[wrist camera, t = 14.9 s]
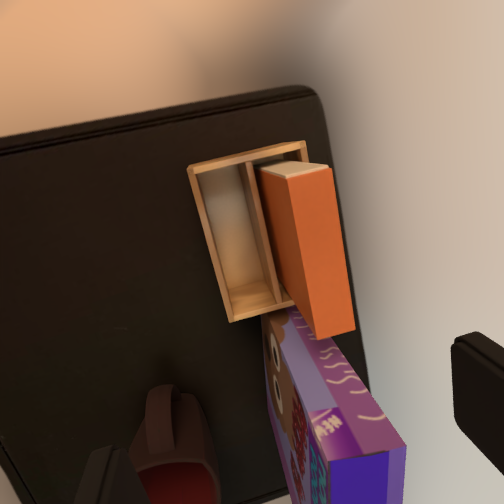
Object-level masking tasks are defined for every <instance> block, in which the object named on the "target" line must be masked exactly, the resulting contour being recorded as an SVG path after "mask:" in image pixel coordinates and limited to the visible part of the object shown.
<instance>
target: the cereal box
mask: <svg viewBox="0 0 504 504" xmlns="http://www.w3.org/2000/svg"><path fill="white" fill-rule="evenodd" d="M260 315H261V328H262V341H263V354H264V367H265V380H266V393H267V406H268V413H269V416H270V420H271V424H272V428H273V432H274V436H275V439H276V443H277V447H278V451H279V455H280V458H281V462H282V466H283V470H284V474H285V478H286V481H287V485H288V489H289V493H290V496H291V500H292V504H402V501H403V488H404V474H405V460H406V444H405V443H404V441H403V440H402V438H401V437H400V436H399V434H398V433H397V431H396V430H395V428H394V427H393V426H392V424H391V423H390V421H389V420H388V418H387V417H386V416H385V414H384V413H383V412H382V410H381V409H380V407H379V405H378V404H377V403H376V401H375V400H374V398H373V397H372V395H371V394H370V393H369V391H368V390H367V388H366V387H365V385H364V384H363V383H362V381H361V380H360V378H359V377H358V375H357V374H356V373H355V371H354V370H353V368H352V367H351V365H350V364H349V363H348V361H347V360H346V358H345V357H344V355H343V354H342V353H341V351H340V350H339V348H338V347H337V345H336V344H335V343H334V341H333V340H332V338H331V337H327V338H324V339H320V340H317V339H316V337H315V336H314V334H313V332H312V331H311V329H310V328H309V326H308V324H307V323H306V321H305V319H304V318H303V316H302V315H301V313H300V311H299V310H298V308H297V306H296V305H292V306H288V307H285V308H281V309H278V310H274V311H270V312H267V313H263V314H260Z"/></svg>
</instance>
